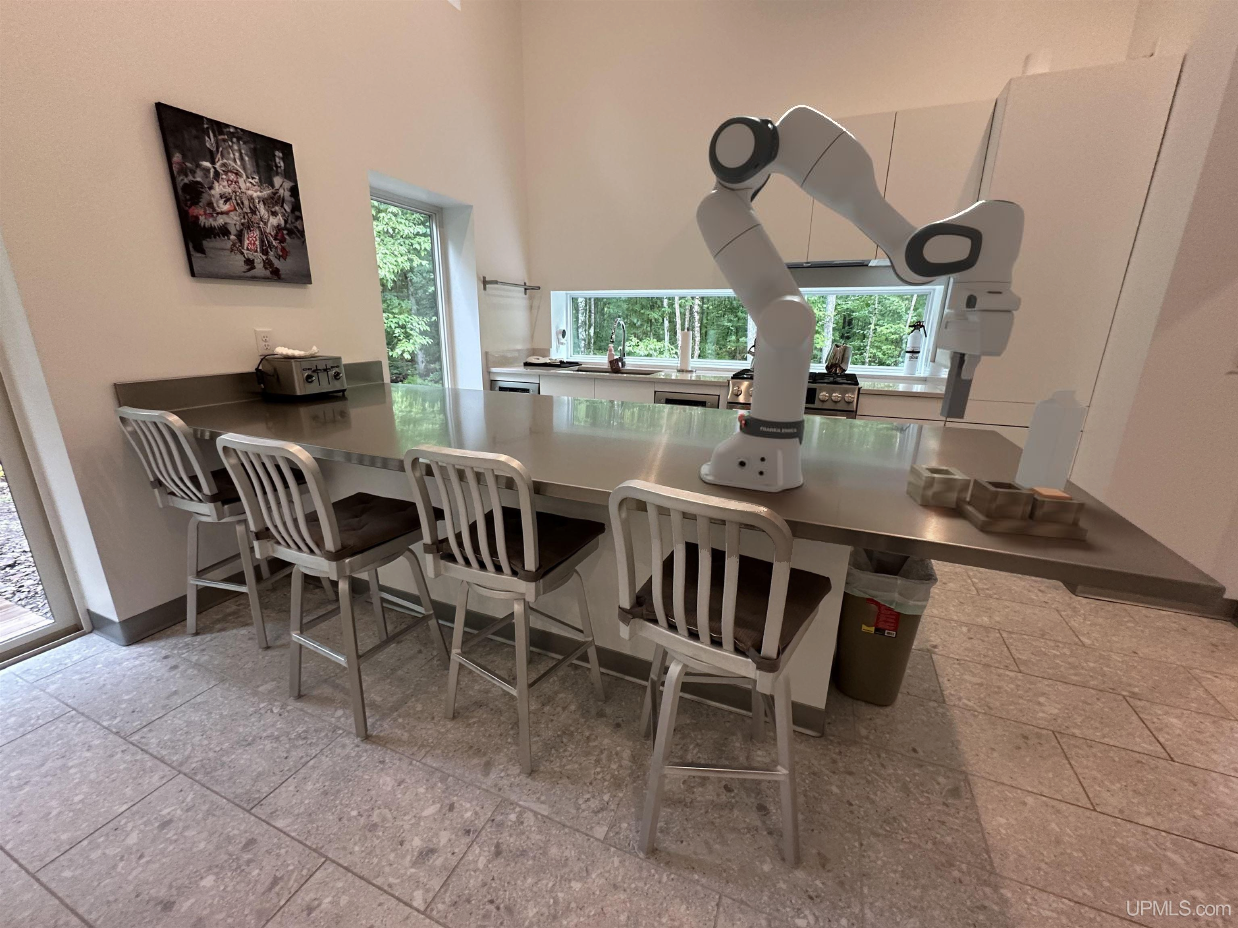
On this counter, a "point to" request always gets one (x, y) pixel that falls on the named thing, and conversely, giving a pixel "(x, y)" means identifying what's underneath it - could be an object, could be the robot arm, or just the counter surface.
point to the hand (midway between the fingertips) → (959, 377)
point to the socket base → (1021, 511)
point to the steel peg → (956, 390)
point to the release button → (1050, 493)
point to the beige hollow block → (937, 485)
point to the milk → (1051, 441)
